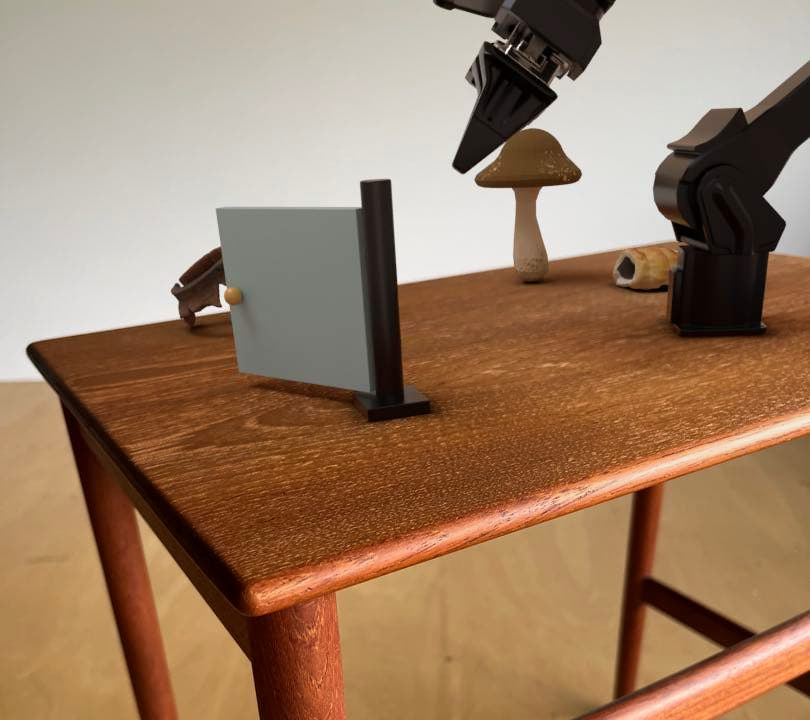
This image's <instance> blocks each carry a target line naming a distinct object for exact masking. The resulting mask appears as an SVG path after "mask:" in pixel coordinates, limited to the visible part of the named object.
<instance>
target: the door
mask: <svg viewBox="0 0 810 720" xmlns="http://www.w3.org/2000/svg"><path fill="white" fill-rule="evenodd" d="M215 215H216V221H217V228H218V236H219V242H220V246H221V250H222V257H223V264H224V271H225V278H226V285H227V286H226V290H225V291H224V293H223V299H224V301H225V303H226V304H228V305H229V312H230V320H231V325H232V332H233V340H234V347H235V356H236V362H237V368H238V373H240V374H247V375H253V376H260V377H266V378H271V379H272V378H273V379H279V380H286V381H290V382H291V381H292V382H298V383H305V384H311V385H317V386H323V387H330V388H336V389H343V390H349V391H356V392H369V393H371V392H373V391H375V377H374V364H373V351H372V338H371V325H370V311H369V298H368V285H367V272H366V259H365V246H364V232H363V219H362V206H222V207H216V208H215Z"/></svg>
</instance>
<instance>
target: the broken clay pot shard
mask: <svg viewBox="0 0 810 720" xmlns="http://www.w3.org/2000/svg"><path fill="white" fill-rule="evenodd" d="M178 282H179V283H180V284H179V283H178ZM178 282H175V283H174V285H173V286H172V287H171V289H170V293H171V295H172V296H173V297H174V298H175V299H176V300H177V301H178V304H177V305H178V306H177V309H178V316H179V320H182V319H183V322H184V323H185V324H187V326H189V328H194V327H195V324H196V320H197V319H196V317H197V316H196V314H197V313H200V312H202V311H203V310H205V309H206V308H208V307H215V308H221V309H222V308H223V304H222V303H221V293H220V285H222V286H224V287H227V285H226V278H225V271H224V264H223V257H222V250H221V245H220V246H218V247H216V248H213V249H212V250H210V251H209V252H207V253H205V254H204V255H203V256H202V257H200V258H199V259H198V260H196V261H195V262H194V263H193V264H192V265H191V266H190V267H189V268H188V269H187V270H185V272H183V273H182V274H181V276H180V277H179V278H178ZM181 285H182V286H181Z"/></svg>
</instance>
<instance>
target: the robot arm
mask: <svg viewBox="0 0 810 720" xmlns="http://www.w3.org/2000/svg"><path fill="white" fill-rule="evenodd" d="M616 1H617V0H432V3H433V4H434V5H435V6H436V7H439V8H440V9H444V10H447V11H453V10H458V11H461V12H465V13H469V14H472V15H476V16H479V17H482V18H486V19H493V21H495V22H494V23H493V25H492V27H491V29H490V30H491V31H492V32H493V33H494V34H496V35H497V36H498V37H499V38H501V39H502V40H504V41H505V40H507V41H506V42H504V41H502V40H499V39H496V40H495V41H494V42H490V41H487V40H484V41H483V43H482V45H481V46H480V49H479V51H478V53H477V55H476V56H475V58H474V60H473V61H472V64H471V65H470V67H469V69H468V71H467V72H466V74H465V77H464V79H465V80H466V81H467V82H468V84H469V85H471V87H473V88H475V89H476V93H477V96H476V99H475V102H474V105H473V108H472V110H471V113H470V116H469V118H468V121H467V124H466V126H465V129H464V131H463V134H462V136H461V139H460V141H459V144H458V147H457V150H456V152H455V155H454V156H453V160H452V162H451V167H452V169H453V170H455V171H456V172H457V173H459V174H460V175H466V174H467V173H469V171H471V170H472V169H473V168H475V167H476V166H477V165H479V163H481V162H483V161H484V160H485V159H486V158H487V157H488V156H490V155H491V154H492V153H494V152H495V151H497V149H499V148H500V147H503V146H504V144H505V143H506V142H507V141H508V140H509V139H511V138H512V137H513V136H514V135H516V134H517V133H518V132H520V131H522V130H524V129H526V127H528V126H530V125H531V124H532V123H533V122H534V121H536V120H537V119H538V118H539V117H540V116H541V115H542V114H543V113H544V112H545V111H546V110H547V109H548V108H549V107H550V106H551V105H552V104H553V103H554V102H556V101H557V99H558V98H559V95H558V93H557V92H555V90H553V89H552V88H551V87H550V86H551V84H552V82H554V79H555V78H557V79H558V80H560V81H561V80H562V79H563V78H564V77H565V75H566V77H568V78H569V79H570V80H572V82H575V81H576V80H577V79H578V78H579V77H580V76H582V74H583V73H584V72H585V71H586V70H587V68H588V66H589V65H590V63H591V62H592V60H593V58H594V57H595V55H596V54H597V53H598V51H599V49H600V47H601V46H602V44H603V41H602V33H601V25H600V22H601V20H602V19H603V17H604V16H605V15H606V14H607V13H608V12H609V10H610V9H611V8H612V7H613V6H614V4H615V3H616ZM809 139H810V59H809V60H808V61H807V62H805V63H804V64H803V65H802V66H801V67H799V68H798V69H796V71H794V73H792V74H791V75H789V77H788V78H786V79H785V80H784V81H783V82H781V83H780V84H779V85H778V86H777V87H776V88H775V89H773V90H772V91H771V92H770V93H769V94H767V95H766V96H765V97H764V98H763V99H762V100H760V101H759V102H758V103H757V104H756V105H754V106H753V107H751V108H749V109H748V110H746V111H744V109H743V108H742V107H723V108H721V107H720V108H719V107H718V108H711V109H709V111H707V112H706V113H705V114H704V115H703V116H702V117H701V118H700V119H699V120H698V121H697V123H696V124H695V125H694V126H693V128H691V130H690V131H689V132H687V134H685V135H683V136H682V137H681V138H679V139H677V140H675V141H671V142H669V143H667V144H666V148H667V149H668V150H670V151H672V152H671V153H669V154H668V155H667V156H666V157H665V158H664V159H663V160H662V161H661V163H660V164H659V165H658V166H657V169H656V171H655V173H654V179H653V186H652V193H653V195H652V196H653V202H654V204H655V206H656V208H657V210H658V212H659V213H660V214H661V215H662V216H663V217H664V218H665V219H666V220H668V221H670V223H671V227H672V230H673V233H674V237H675V241H676V242H678V243H679V244H680V243H684V244H682V245H678V246H677V250H678V259H677V265H672V266H671V267H670V268H669V283H668V285H667V299H666V312H665V316H666V318H667V320H668V321H669V323H670V324H672V327H673V328H674V329H675V330H676V332H677V333H678V335H680V336H712V335H715V336H716V335H743V334H744V335H748V334H749V335H750V334H766V333H767V330H768V326H767V324H766V323H764V322H763V321H762V318H763V312H764V311H763V310H764V302H765V292H766V285H767V276H768V275H767V274H768V267H769V256H770V253H773V252H775V251H776V249H777V247H778V245H779V243H780V240H781V238H782V236H783V234H784V231H785V230H786V227H787V222H786V220H785V219H784V218H783V217H782V216H781V215H780V213H779V212H778V211H777V210H776V209H775V208H774V207H773V206H772V205H771V203H770V202H769V201H768V200H767V199H766V198H765V195H766V194H767V193H768V192H769V191H770V190H771V189H772V188H773V186H774V185H775V184H776V182H777V180H778V179H779V177H780V175H781V174H782V172H783V170H784V169H785V167H786V165H787V164H788V163H789V160H790V159H791V157H792V156H793V154H794V153H795V152H796V150H798V148H799V147H801V145H802V144H804V143H805V142H807V141H808V140H809Z"/></svg>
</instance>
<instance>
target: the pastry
mask: <svg viewBox="0 0 810 720" xmlns="http://www.w3.org/2000/svg"><path fill="white" fill-rule="evenodd" d="M677 259H678V249H675V248H667V247H663V246H661V245H656V246H652V247H641V248H636V247H629V248H624V250H621V251H620V253H619V257H618V259H617V260H616V262H615V264H614V268H613V269H612V271H613V272H612V278H613V279H614V281H615V285H616V286H618V287H620V288H627V287H628V288H631V289H633V290H640V289H641V290H645V291H649V290H652V289H659V288H660V287H661V286H663V285H664V286H665V285H667V286H668V283H669V268H670V267H671V266H672V265H677Z"/></svg>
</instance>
